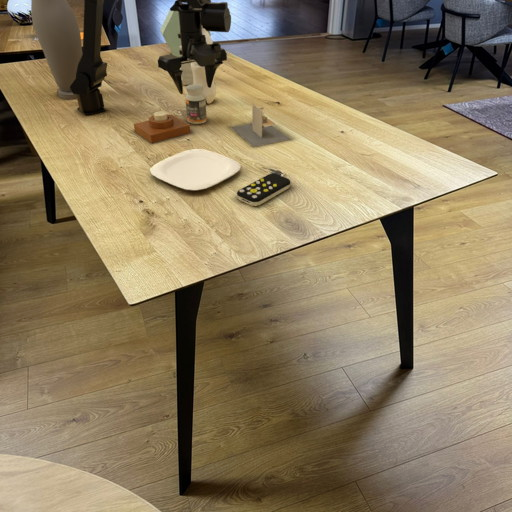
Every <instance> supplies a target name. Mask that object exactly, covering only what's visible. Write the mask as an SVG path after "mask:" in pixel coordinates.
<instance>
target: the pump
mask: <svg viewBox="0 0 512 512" xmlns="http://www.w3.org/2000/svg"><path fill="white" fill-rule="evenodd" d="M167 114H168V112H167V111H163V110H157V111H156V112H155V111H154V113H153V115H154V120H155V121H164V120H167V119H168V116H167Z"/></svg>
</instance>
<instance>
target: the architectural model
mask: <svg viewBox="0 0 512 512" xmlns="http://www.w3.org/2000/svg"><path fill="white" fill-rule="evenodd" d="M251 108H252V109H251V110H252V114H251V115H252V119H251V120H252V121H251V123H245V124H240V125H235V126H230V129H231V130H233V132H235V133H236V134H238V136H240V137H241V138H242V139H243V140H245V142H247V143H248V144H249V145H251V146H252V147H253V148H255V147H256V148H257V147H260V146H261V147H262V146H265V145H270V144H276V143H280V142H285V141H289V140H291V138H290V137H289V136H288V135H286V134H284V133H283V132H282V131H280V130H279V129H278V128H276V127H275V126H276V123H275V122H274V121H272V120H270V119H269V118H268V116H266V115H265V114H264V113H263V110H264V108H265V106H260V107H258V106H257V105H255V104H254V103H252V107H251Z"/></svg>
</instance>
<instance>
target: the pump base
mask: <svg viewBox="0 0 512 512" xmlns="http://www.w3.org/2000/svg"><path fill="white" fill-rule="evenodd" d="M167 116H168V119H167V120H164V121H155V120H154V114H153V115H151V116H149V117H148V120H145V121H140V122H136V123H133V129H134V132H135V133H136V134H137V135H139V136H140V137H142V138H144V139H145V140H146V141H148V142H149V143H150V144H154V143H158V142H162V141H165V140H170V139H173V138H175V137H179V136H182V135H187V134H191V124H190V123H188V122H186V121H184V120H182V119H180V118H179V117H177V116H175V115H173V114H168V113H167Z"/></svg>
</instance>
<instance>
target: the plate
mask: <svg viewBox="0 0 512 512" xmlns="http://www.w3.org/2000/svg"><path fill="white" fill-rule="evenodd" d="M241 169H242V165H241V164H240V163H239V162H238V161H237V160H235V159H233V158H231V157H228V156H226V155H223V154H220V153H218V152H215V151H212V150H208V149H202V148H192V149H185V150H184V151H180V152H178V153H175V154H172V155H171V156H169V157H167V158H165V159H162V160H160V161H158V162H157V163H155V164H153V165H152V167H150V169H149V172H150V174H151V176H153V177H155V178H156V179H158V180H159V181H161V182H164V183H166V184H168V185H170V186H173V187H175V188H176V189H177V188H178V189H181V190H184V191H191V192H199V191H203V190H207V189H210V188H213V187H214V186H215V187H216V186H218V185H219V184H220V183H223V182H225V181H227V180H228V179H230V178H231V177H234V175H236V174H237V173H239V172H240V170H241Z"/></svg>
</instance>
